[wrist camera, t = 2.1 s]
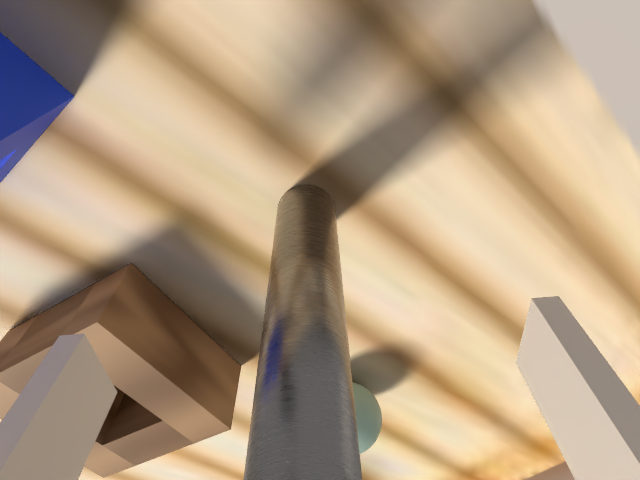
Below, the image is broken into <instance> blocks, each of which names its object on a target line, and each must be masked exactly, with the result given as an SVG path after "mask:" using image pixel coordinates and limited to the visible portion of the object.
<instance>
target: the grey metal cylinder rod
mask: <svg viewBox="0 0 640 480" xmlns="http://www.w3.org/2000/svg"><path fill="white" fill-rule="evenodd" d="M244 480H362V474H361V464H360V454H359V444H358V434H357V424H356V414H355V404H354V394H353V384H352V374H351V364H350V354H349V344H348V334H347V324H346V314H345V304H344V294H343V284H342V274H341V264H340V254H339V244H338V235H337V225H336V215H335V206H334V202H333V200H332V198H331V197H330V196H329V195H328V193H326V192H325V191H324V190H322V189H320V188H318V187H315V186H310V185H302V186H297V187H294V188H292V189H290V190H289V191H287V192H286V193H285V194H284V195H283V196H282V198H281V199H280V201H279V204H278V210H277V218H276V226H275V234H274V242H273V250H272V258H271V266H270V274H269V282H268V290H267V298H266V306H265V314H264V322H263V330H262V338H261V346H260V354H259V362H258V370H257V377H256V385H255V393H254V401H253V409H252V417H251V425H250V433H249V441H248V449H247V457H246V465H245V473H244Z"/></svg>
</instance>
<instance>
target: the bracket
mask: <svg viewBox="0 0 640 480" xmlns="http://www.w3.org/2000/svg"><path fill="white" fill-rule="evenodd" d="M73 97H74V96H73V95H72V94H71V93H70V92H69V91H68V90H66V89H65V88H64V87H63V86H62V85H61V84H59V83H58V82H57V81H56V80H55V79H54V78H53V77H51V76H50V75H49V74H48V73H47V72H46V71H44V70H43V69H42V68H41V67H40V66H39V65H38V64H36V63H35V62H34V61H33V60H32V59H31V58H29V57H28V56H27V55H26V54H25V53H24V52H23V51H21V50H20V49H19V48H18V47H17V46H16V45H14V44H13V43H12V42H11V41H10V40H9V39H8V38H6V37H5V36H4V35H3V34H2V33H1V32H0V182H1V181H2V180H3V179H4V178H5V176H6V175H7V174H8V173H9V172H10V171H11V170H12V168H13V167H14V166H15V165H16V164H17V163H18V161H19V160H20V159H21V158H22V157H23V156H24V154H25V153H26V152H27V151H28V150H29V149H30V147H31V146H32V145H33V144H34V143H35V142H36V140H37V139H38V138H39V137H40V136H41V135H42V133H43V132H44V131H45V130H46V129H47V128H48V126H49V125H50V124H51V123H52V122H53V121H54V119H55V118H56V117H57V116H58V115H59V114H60V113H61V111H62V110H63V109H64V108H65V107H66V106H67V104H68V103H69V102H70V101H71V100H72V99H73Z"/></svg>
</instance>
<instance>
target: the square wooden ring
mask: <svg viewBox="0 0 640 480" xmlns="http://www.w3.org/2000/svg"><path fill="white" fill-rule="evenodd" d="M73 334H85V335H86V337H87V339H88V341H89V342H90V344H91V346H92V348H93V349H94V351H95V353H96V355H97V357H98V358H99V360H100V362H101V364H102V365H103V367H104V369H105V371H106V373H107V374H108V376H109V378H110V380H111V381H112V383H113V385H114V387H115V389H116V390H117V394H116V397H115V399H114V401H113V403H112V405H111V408H110V410H109V412H108V414H107V416H106V419H105V421H104V423H103V425H102V427H101V430H100V432H99V434H98V436H97V438H96V441H95V443H94V445H93V447H92V450H91V452H90V454H89V456H88V458H87V461H86V463H85V465H84V467H86V468H88V469H89V470H91V471H93V472H95V473H96V474H98V475H100V476H102V477H103V478H104V477H107V476H110V475H112V474H115V473H117V472H120V471H123V470H125V469H128V468H131V467H133V466H136V465H138V464H141V463H144V462H146V461H149V460H152V459H154V458H157V457H159V456H162V455H165V454H167V453H170V452H173V451H175V450H178V449H180V448H183V447H186V446H188V445H191V444H194V443H196V442H199V441H201V440H204V439H207V438H209V437H212V436H215V435H217V434H220V433H222V432H225V431H228V430H230V429H231V424H232V418H233V412H234V406H235V400H236V394H237V388H238V382H239V376H240V370H241V366H240V365H239V364H238V363H237V362H236V361H235V360H234V359H233V358H232V357H230V356H229V355H228V354H227V353H226V352H225V351H224V350H223V349H222V348H221V347H220V346H219V345H218V344H217V343H216V342H215V341H213V340H212V339H211V338H210V337H209V336H208V335H207V334H206V333H205V332H204V331H203V330H202V329H201V328H200V327H199V326H198V325H197V324H195V323H194V322H193V321H192V320H191V319H190V318H189V317H188V316H187V315H186V314H185V313H184V312H183V311H182V310H181V309H180V308H178V307H177V306H176V305H175V304H174V303H173V302H172V301H171V300H170V299H169V298H168V297H167V296H166V295H165V294H164V293H163V292H161V291H160V290H159V289H158V288H157V287H156V286H155V285H154V284H153V283H152V282H151V281H150V280H149V279H148V278H147V277H146V276H145V275H143V274H142V273H141V272H140V271H139V270H138V269H137V268H136V267H135V266H134V265H133V264H132V263H130V264H129V265H127V266H125V267H123V268H121V269H120V270H118V271H116V272H114V273H112V274H111V275H109V276H107V277H105V278H103V279H102V280H100V281H98V282H96V283H94V284H93V285H91V286H89V287H87V288H85V289H84V290H82V291H80V292H78V293H76V294H75V295H73V296H71V297H69V298H67V299H66V300H64V301H62V302H60V303H58V304H57V305H55V306H53V307H51V308H49V309H48V310H46V311H44V312H42V313H40V314H39V315H37V316H35V317H33V318H31V319H30V320H28V321H26V322H24V323H22V324H21V325H19V326H17V327H15V328H13V329H12V330H10V331H8V333H7V334H6V335H5V336H4V338H3V339H2V340H1V341H0V419H2V420H3V418H4V417H5V415H6V414H7V412H8V411H9V410H10V408H11V407H12V405H13V404H14V402H15V401H16V399H17V398H18V396H19V395H20V393H21V392H22V390H23V389H24V387H25V386H26V384H27V383H28V381H29V380H30V379H31V377H32V376H33V374H34V373H35V371H36V370H37V368H38V367H39V365H40V364H41V362H42V361H43V359H44V358H45V356H46V355H47V353H48V352H49V350H50V349H51V348H52V346H53V345H54V343H55V342H56V340H57V339H58V337H59V336H61V335H73Z"/></svg>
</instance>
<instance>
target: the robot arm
mask: <svg viewBox="0 0 640 480" xmlns="http://www.w3.org/2000/svg"><path fill="white" fill-rule="evenodd" d="M516 364H517V366H518V368H519V370H520V372H521V374H522V376H523V378H524V380H525V382H526V384H527V386H528V388H529V390H530V392H531V394H532V396H533V398H534V400H535V402H536V404H537V406H538V408H539V410H540V412H541V413H542V415H543V417H544V419H545V421H546V423H547V425H548V427H549V429H550V431H551V433H552V435H553V437H554V439H555V441H556V443H557V445H558V447H559V449H560V451H561V453H562V455H563V457H564V459H565V461H566V463H567V464H568V467H569V468H570V470H571V472H572V474H573V476H574V478H575V480H640V405H639V404H638V403H637V401H636V400H635V399H634V397H633V396H632V395H631V393H630V392H629V391H628V389H627V388H626V387H625V385H624V384H623V382H622V381H621V380H620V378H619V377H618V376H617V374H616V373H615V372H614V370H613V369H612V368H611V366H610V365H609V364H608V362H607V361H606V359H605V358H604V357H603V355H602V354H601V353H600V351H599V350H598V349H597V347H596V346H595V345H594V343H593V342H592V341H591V339H590V338H589V336H588V335H587V334H586V332H585V331H584V330H583V328H582V327H581V326H580V324H579V323H578V322H577V320H576V319H575V318H574V316H573V315H572V313H571V312H570V311H569V309H568V308H567V307H566V305H565V304H564V303H563V301H562V300H561V299H560V297H559V296H555V297H542V298H531V303H530V307H529V311H528V315H527V319H526V323H525V327H524V331H523V335H522V340H521V344H520V348H519V352H518V356H517V360H516ZM116 394H117V390H116V389H115V387H114V385H113V383H112V381H111V380H110V378H109V376H108V374H107V373H106V371H105V369H104V367H103V365H102V364H101V362H100V360H99V358H98V357H97V355H96V353H95V351H94V349H93V348H92V346H91V344H90V342H89V341H88V339H87V337H86V335H85V334H73V335H61V336H59V337H58V339H57V340H56V342H55V343H54V345H53V346H52V348H51V349H50V350H49V352H48V353H47V355H46V356H45V358H44V359H43V361H42V362H41V364H40V365H39V367H38V368H37V370H36V371H35V373H34V374H33V376H32V377H31V379H30V380H29V381H28V383H27V384H26V386H25V387H24V389H23V390H22V392H21V393H20V395H19V396H18V398H17V399H16V401H15V402H14V404H13V405H12V407H11V408H10V410H9V411H8V412H7V414H6V415H5V417H4V418H3V420H2V421H1V423H0V480H78V478H79V476H80V474H81V472H82V469H83V467H84V465H85V463H86V461H87V458H88V456H89V454H90V452H91V450H92V447H93V445H94V443H95V441H96V438H97V436H98V434H99V432H100V430H101V427H102V425H103V423H104V421H105V419H106V416H107V414H108V412H109V410H110V408H111V405H112V403H113V401H114V399H115V397H116Z"/></svg>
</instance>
